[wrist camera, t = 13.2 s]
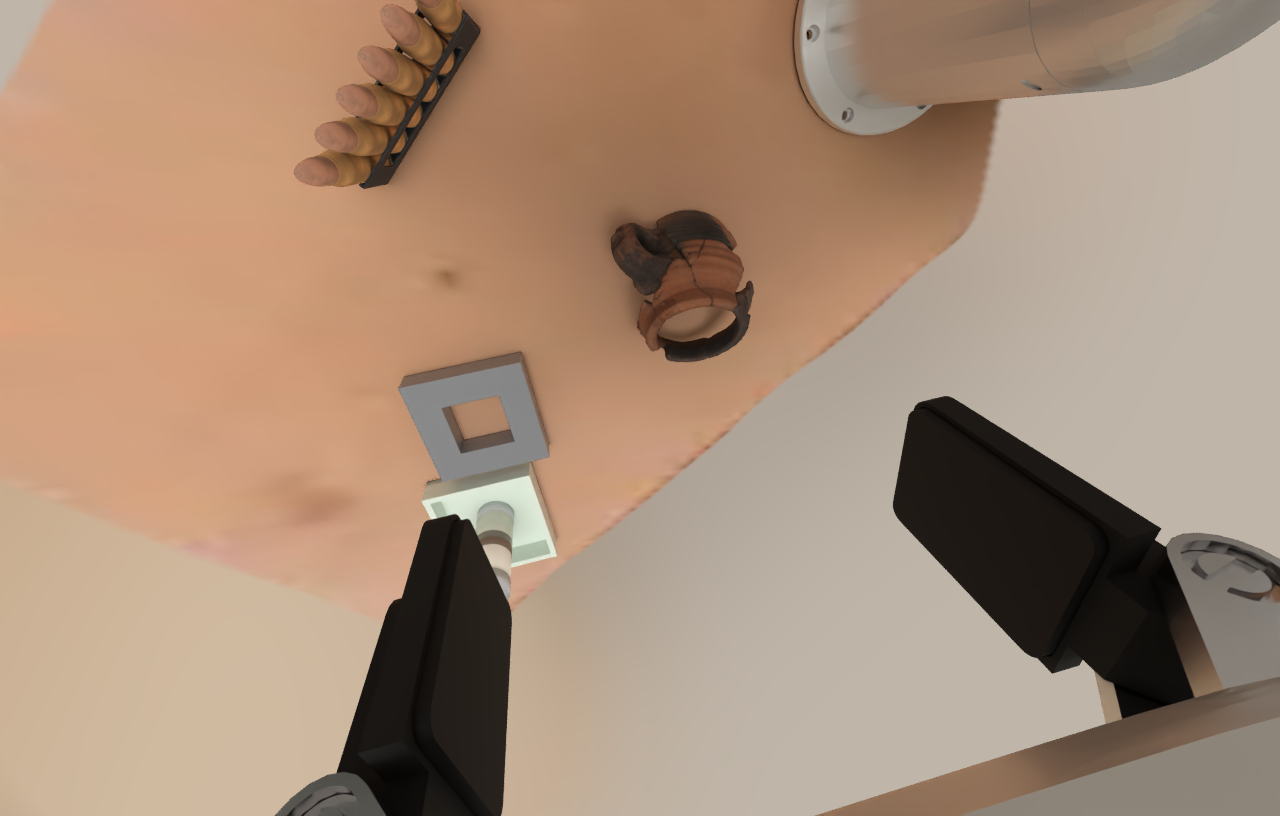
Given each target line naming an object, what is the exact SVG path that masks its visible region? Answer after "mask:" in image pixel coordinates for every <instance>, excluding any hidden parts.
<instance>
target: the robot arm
mask: <svg viewBox="0 0 1280 816" xmlns="http://www.w3.org/2000/svg"><path fill="white" fill-rule="evenodd" d="M1279 20H1280V0H799V4H798V9H797V14H796V19H795V36H794V48H795V59H796V67H797V71H798V75H799V79H800V83H801V86H802V88H803V91H804V93H805V95H806V97H807V99H808V101H809V103H810V104H811V106H812V107H813V109H814V110H815V111H816V113H817V114H818V115H819V116H820V117H821V118H822V119H823V120H824V121H826V122H827V123H828V124H829V125H830V126H832V127H834V128H836V129H838V130H840V131H842V132H845V133H849V134H855V135H878V134H884V133H889V132H892V131H894V130H897V129H899V128H902V127H904V126H906V125H908V124H909V123H911V122H912V121H914V120H916V119H917V118H919V117H920V116H922V115H923V114H924V113H925V112H926V111H927V110H928V109H929V108H931V107H932V106H933V105H934V104H945V103H958V102H970V101H983V100H995V99H1008V98H1019V97H1033V96H1045V95H1056V94H1057V95H1058V94H1070V93H1082V92H1095V91H1106V90H1117V89H1127V88H1134V87H1140V86H1146V85H1151V84H1155V83H1159V82H1162V81H1166V80H1169V79H1173V78H1176V77H1179V76H1181V75H1183V74H1186V73H1189V72H1191V71H1193V70H1196V69H1198V68H1201V67H1203V66H1205V65H1208V64H1209V63H1211V62H1213V61H1215V60H1217V59H1219V58H1220V57H1222V56H1224V55H1226V54H1228V53H1229V52H1231V51H1233V50H1235V49H1237V48H1238V47H1240V46H1242V45H1243V44H1245V43H1246V42H1248V41H1249V40H1251V39H1253V38H1254V37H1256V36H1257V35H1259V34H1260V33H1262V32H1263V31H1264V30H1266V29H1267V28H1269V27H1270V26H1272V25H1273V24H1275V23H1276V22H1277V21H1279ZM807 31H808V33H809V38H808V39H807V36H806V33H807ZM842 114H843V118H842ZM893 509H894V512H895V514H896V516H897V518H898V519H899V520H900V521H901V523H902V524H903V525H904V526H905V527H906V528H907V529H908V530H909V531H910V532H911V533H912V534H913V535H914V536H915V537H916V539H918V541H919V542H920V543H921V544H922V545H923V546H924V547H925V548H926V549H927V550H928V551H929V552H930V553H931V554H932V555H933V556H934V557H935V559H936V560H937V561H938V562H939V563H940V564H941V565H942V566H943V567H944V568H945V569H946V570H947V571H948V572H949V573H950V574H951V575H952V576H953V578H954V579H955V580H956V581H958V583H959V584H960V585H961V586H962V587H963V588H964V589H965V590H966V591H967V592H968V593H969V594H970V595H971V596H972V597H973V599H974V600H975V601H976V602H977V603H978V604H979V605H980V606H981V607H982V608H983V609H984V610H985V611H986V612H987V613H988V614H989V616H990V617H991V618H992V619H993V620H994V621H995V622H996V623H997V624H998V625H999V626H1000V627H1001V628H1002V629H1003V630H1004V631H1005V632H1006V633H1007V635H1008V636H1010V638H1011V639H1012V640H1013V641H1014V642H1015V643H1016V644H1017V645H1018V646H1019V647H1020V648H1021V649H1022V650H1023V651H1024V652H1025V653H1026V654H1028V655H1030V656H1031V657H1035V658H1038V659H1039V660H1040V661H1041V662H1042V663H1043V664H1044V665H1045V667H1046V668H1048V670H1049V671H1050V672H1051V673H1056V672H1059V671H1062V670H1066V669H1069V668H1072V667H1076V666H1078V665H1080V663H1081V662H1082V660H1084V661H1085V662H1086V663H1087V664H1088V665H1089V666H1090V667H1091V668H1092V669H1093V670H1094V671H1095V676H1096V680H1097V685H1098V689H1099V694H1100V699H1101V703H1102V707H1103V712H1104V717H1105V721H1106V724H1105V725H1101V726H1098V727H1095V728H1092V729H1089V730H1085V731H1082V732H1079V733H1076V734H1072V735H1069V736H1066V737H1063V738H1060V739H1056V740H1053V741H1050V742H1047V743H1044V744H1040V745H1037V746H1034V747H1031V748H1028V749H1024V750H1021V751H1018V752H1015V753H1011V754H1008V755H1005V756H1002V757H999V758H995V759H992V760H990V761H986V762H983V763H980V764H977V765H973V766H970V767H967V768H964V769H961V770H958V771H954V772H951V773H948V774H945V775H942V776H939V777H936V778H932V779H929V780H926V781H923V782H920V783H916V784H913V785H910V786H907V787H904V788H901V789H898V790H895V791H891V792H888V793H885V794H882V795H879V796H876V797H873V798H869V799H866V800H863V801H860V802H857V803H854V804H850V805H847V806H844V807H841V808H838V809H835V810H832V811H829V812H825V813H822V814H819V815H816V816H1280V559H1279V558H1277V557H1275V556H1273V555H1271V554H1269V553H1267V552H1265V551H1264V550H1262V549H1259V548H1257V547H1254V546H1252V545H1249V544H1246V543H1244V542H1241V541H1238V540H1234V539H1231V538H1227V537H1223V536H1219V535H1213V534H1203V533H1189V534H1181V535H1178V536H1176V537H1173V538H1172V539H1171V540H1170V541H1169V543H1168V544H1167V546H1166V547H1165V546H1163V545H1162V544H1160V543H1159V542H1157V541H1155V538H1156V537H1157V535H1158V533H1159V532H1160V530H1161V528H1160V527H1158V526H1156V525H1155V524H1153V523H1152V522H1150V521H1148V520H1147V519H1145V518H1144V517H1142V516H1140V515H1139V514H1137V513H1136V512H1134V511H1132V510H1131V509H1129V508H1128V507H1126V506H1124V505H1123V504H1121V503H1120V502H1118V501H1117V500H1115V499H1113V498H1112V497H1110V496H1109V495H1107V494H1105V493H1104V492H1102V491H1101V490H1099V489H1097V488H1096V487H1094V486H1092V485H1091V484H1089V483H1088V482H1086V481H1084V480H1083V479H1081V478H1080V477H1078V476H1077V475H1075V474H1073V473H1072V472H1070V471H1069V470H1067V469H1065V468H1064V467H1062V466H1061V465H1059V464H1057V463H1056V462H1054V461H1053V460H1051V459H1049V458H1048V457H1046V456H1045V455H1043V454H1041V453H1040V452H1038V451H1037V450H1035V449H1034V448H1032V447H1030V446H1029V445H1027V444H1026V443H1024V442H1022V441H1021V440H1019V439H1018V438H1016V437H1014V436H1013V435H1011V434H1010V433H1008V432H1006V431H1005V430H1003V429H1002V428H1000V427H998V426H997V425H995V424H994V423H992V422H990V421H989V420H987V419H986V418H984V417H982V416H981V415H979V414H978V413H976V412H975V411H973V410H971V409H970V408H968V407H967V406H965V405H963V404H962V403H960V402H958V401H957V400H955V399H954V398H951V397H948V396H944V397H939V398H935V399H931V400H927V401H923V402H920V403H918V404H917V405H916V406H915V408H914V411H912V412H911V413H910V414H909V417H908V422H907V428H906V433H905V439H904V445H903V450H902V456H901V461H900V467H899V472H898V479H897V484H896V490H895V495H894V501H893ZM511 627H512V617H511V610H510V606H509V603H508V601H507V598H506V596H505V594H504V592H503V590H502V588H501V585H500V583H499V581H498V579H497V577H496V575H495V572H494V570H493V568H492V566H491V564H490V562H489V559H488V557H487V555H486V553H485V551H484V549H483V546H482V544H481V542H480V540H479V538H478V536H477V533H476V531H475V529H474V527H473V525H472V523H471V521H470V520H469V519H463V520H461V519H460V517H459V516H458V515H457V514H452V515H448V516H444V517H440V518H436V519H432V520H427V521H426V522H425V523H424V525H423V527H422V530H421V534H420V537H419V541H418V544H417V548H416V551H415V555H414V558H413V561H412V565H411V568H410V572H409V575H408V579H407V582H406V586H405V589H404V593H403V596H402V598H401V599H397V600H394V601H393V602H392V604H391V605H390V606H389V608H388V611H387V613H386V616H385V619H384V622H383V626H382V629H381V632H380V635H379V638H378V642H377V645H376V648H375V651H374V655H373V658H372V661H371V664H370V667H369V670H368V674H367V677H366V680H365V683H364V686H363V690H362V693H361V696H360V699H359V703H358V706H357V709H356V712H355V716H354V719H353V722H352V725H351V728H350V731H349V735H348V738H347V741H346V744H345V747H344V751H343V754H342V757H341V761H340V763H339V767H338V770H337V773H336V774H330V775H326V776H324V777H322V778H320V779H318V780H316V781H315V782H312V783H310V784H309V785H307V786H306V787H305V788H303V789H302V790H301V791H300V792H298V793H297V794H296V795H295V796H293V797H292V798H291V799H290V800H289V801H288V802H287V803H286V804H285V805H284V806H283V807H282V808H281V810H280V811H279V812H278V813H277V814H276V815H275V816H501V813H502V807H503V793H504V773H505V752H506V730H507V710H508V690H509V689H508V687H509V669H510V648H511Z"/></svg>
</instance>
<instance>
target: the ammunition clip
mask: <svg viewBox="0 0 1280 816" xmlns="http://www.w3.org/2000/svg"><path fill="white" fill-rule="evenodd" d="M415 2H416V4H417V6H418V9H417V11H416V12H415V14H414V13H411V12H408V11H407V10H405V9H404V8H402V7H400V6H397V5H393V4H390V5H386V6H384V7H383V8H382V10H381V19H382V23H383V25H384V27H385V29H386V30H387V32H388V33H389V34H390V35H391V36H392V38H393V39H395V41H396V42H397V46H396V48H395V49H394V50H393V49H389V48H388V49H382V48H380V47H376V46H365V47H363V48H361V49H360V50H359V52H358V60H359V62H360V64H361V66H362V68H363V69H364V70H365V71H366V72H367V73H368V74H369V75H370V76H371V77H373V78H375V79H376V80H377V81H376V83H375V84H371V83H367V84H362V85H355V84H351V85H344V86H342V87H341V88H339V89H338V90H337V92H336V99H337V101H338V103H339V104H340V106H341V107H342V108H343V109H345V110H346V111H347V112H349V113H351V114H353V115H355V116H356V118H355V117H349V118H343V119H342V120H340V121H333V122H327V123H324V124H322V125H321V126H319V127H318V128H317V129H316V131H315V135H314V136H315V139H316V141H317V142H318V143H319V144H320V145H321V146H323V147H325V148H327V149H329V150H328V151H325V152H323V153H322V154H320V155H318V156H315V157H311V158H307V159H305V160H303V161H301V162H300V163H299V164H298V165H297V166H296V167H295V169H294V175H295V177H296V178H297V179H298V180H299V181H301V182H303V183H305V184H308V185H312V186H337V187H345V186H350V185H354V184H358V183H360V184H359V186H360V187H362V188H363V189H366V188H371V187H376V186H381V185H385V184H388V182H389V181H390V179H391V177H392V176H393V174H394V172H395V171H396V169H397V168H398V166H399V164H400V163H401V161H402V159H403V158H404V156H405V155H406V153H407V151H408V150H409V148H410V146H411V145H412V143H413V142H414V140H415V138H416V137H417V135H418V133H419V132H420V130H421V128H422V127H423V125H424V124H425V122H426V120H427V119H428V117H429V115H430V114H431V112H432V111H433V109H434V107H435V106H436V104H437V102H438V101H439V99H440V97H441V96H442V94H443V93H444V91H445V89H446V88H447V86H448V84H449V83H450V81H451V80H452V78H453V76H454V75H455V73H456V71H457V70H458V68H459V66H460V65H461V63H462V62H463V60H464V58H465V57H466V55H467V53H468V52H469V50H470V49H471V47H472V45H473V44H474V42H475V40H476V39H477V37H478V35H479V34H480V28H479V27H478V25H477V24H476V23H475V22H474V21H473V20H472V18H471V17H470V16H469V15H468V14H467V13H466V12H465V11H464V10H462V8H461V6H460V5H459V3H458V1H457V0H415ZM423 18H426V19H427V20H428V21H429V22H430V23H431V24H432V25H431V26H430V25H429V24H428V23H427V22H426V21H425V20H424V19H423ZM403 52H404V53H406V54H407V55H409V56H410V57H412V58H413V59H410V58H408V57H406V56H405V55H403V54H402V53H403ZM383 86H384V87H383ZM385 87H386V88H385ZM362 182H365V183H362Z"/></svg>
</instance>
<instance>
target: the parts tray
mask: <svg viewBox="0 0 1280 816" xmlns="http://www.w3.org/2000/svg"><path fill="white" fill-rule="evenodd" d="M491 501H502V502H505V503H507V504H509V505H510V506H511V507H512V508H513V510H514V526H513V539H512V559H511V567H515V566H519V565H523V564H527V563H531V562H535V561H539V560H543V559H547V558H551V557H555V556H557V543H556V535H555V532H554V529H553V526H552V523H551V520H550V517H549V514H548V511H547V508H546V505H545V502H544V499H543V496H542V494H541V491H540V488H539V485H538V482H537V479H536V476H535V473H534V470H533V467H532V464H531V462H527V463H523V464H518V465H514V466H510V467H505V468H501V469H497V470H493V471H488V472H484V473H480V474H476V475H471V476H467V477H463V478H458V479H454V480H450V481H446V482H442V480H441V479H438V480H434V481H430V482H427V485H426V488H425V492H424V495H423V498H422V503H423V504H424V506H425V508H426V510H427V512H428V514H429V516H430V518H431V520H432V519H436V518H440V517H444V516H448V515H452V514H457V515H458V516H459V517H460V519H461V520H463V519H469V520H470V521H471V523H472V525H473V527H474V529H475V530H476V520H477V513H478V510H479V508H480V507H481V506H482V505H484V504H485V503H488V502H491Z"/></svg>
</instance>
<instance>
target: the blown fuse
mask: <svg viewBox="0 0 1280 816" xmlns="http://www.w3.org/2000/svg"><path fill="white" fill-rule="evenodd" d="M513 526H514V510H513V508H512V507H511V506H510V505H509V504H507V503H505V502H502V501H491V502H488V503H485V504H484V505H482V506H481V507H480V508H479V510H478V513H477V520H476V530H475V531H476V533H477V536H478V538H479V540H480V542H481V544H482V546H483V549H484V551H485V553H486V555H487V557H488V559H489V562H490V564H491V566H492V568H493V570H494V572H495V575H496V577H497V579H498V581H499V583H500V585H501V588H502V590H503V592H504V594H505V596H506V598H507V601H508V599H509V597H510V587H511V578H510V575H511V559H512V539H513Z"/></svg>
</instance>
